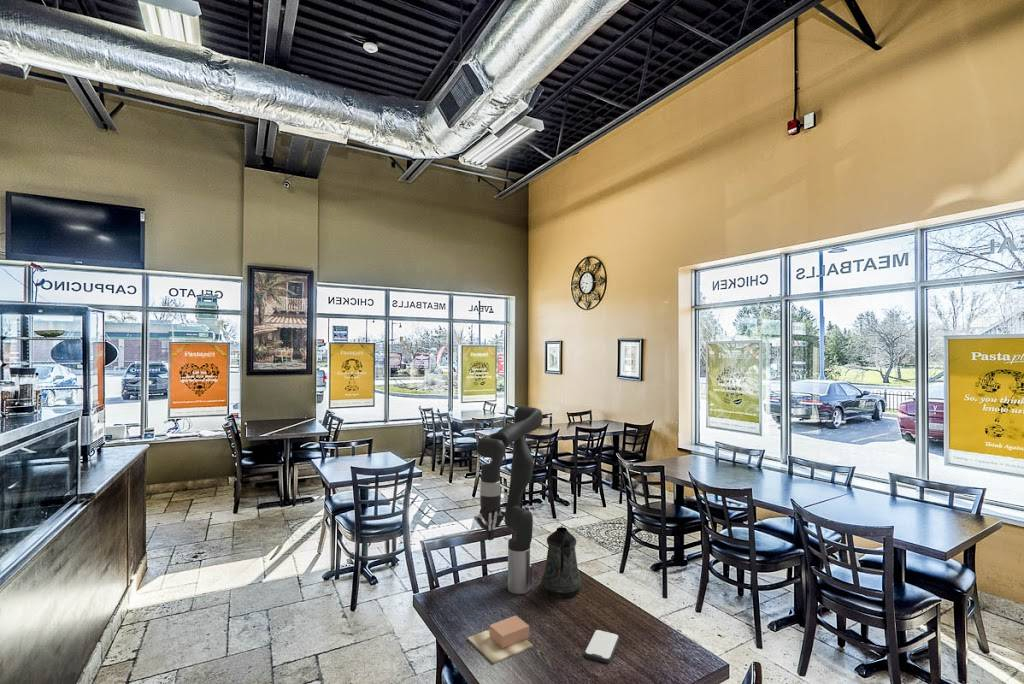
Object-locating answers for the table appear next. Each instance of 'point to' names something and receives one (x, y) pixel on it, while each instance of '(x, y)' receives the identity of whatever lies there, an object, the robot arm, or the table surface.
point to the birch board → (497, 647)
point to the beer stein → (561, 565)
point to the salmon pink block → (509, 631)
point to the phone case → (602, 646)
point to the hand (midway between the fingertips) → (490, 539)
